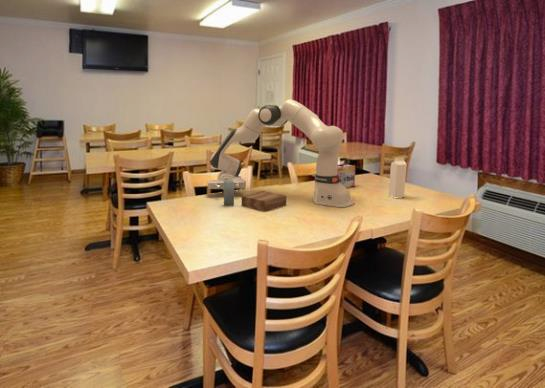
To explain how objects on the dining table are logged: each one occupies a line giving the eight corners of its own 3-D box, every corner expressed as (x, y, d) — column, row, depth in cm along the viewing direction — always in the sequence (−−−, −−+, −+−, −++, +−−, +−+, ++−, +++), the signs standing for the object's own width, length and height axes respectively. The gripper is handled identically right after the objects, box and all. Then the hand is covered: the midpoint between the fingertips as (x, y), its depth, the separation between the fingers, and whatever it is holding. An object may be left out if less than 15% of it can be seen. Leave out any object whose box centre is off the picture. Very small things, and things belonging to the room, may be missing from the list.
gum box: (347, 184, 248) (348, 163, 245) (356, 186, 242) (357, 165, 239) (318, 188, 235) (319, 166, 232) (327, 191, 229) (328, 168, 226)
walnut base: (286, 205, 198) (286, 195, 197) (265, 211, 186) (265, 201, 185) (262, 199, 208) (262, 190, 207) (241, 205, 196) (241, 196, 195)
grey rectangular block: (236, 204, 198) (235, 181, 195) (228, 206, 194) (228, 183, 191) (229, 203, 201) (228, 180, 198) (221, 205, 197) (221, 181, 194)
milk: (403, 198, 214) (407, 158, 209) (394, 198, 212) (397, 158, 207) (397, 195, 220) (401, 156, 214) (388, 196, 218) (391, 157, 213)
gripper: (207, 177, 218) (207, 182, 205) (243, 176, 221) (246, 181, 208) (207, 188, 219) (207, 193, 206) (243, 187, 223) (246, 192, 210)
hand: (227, 187), depth 207 cm, fingers open, 8 cm apart
